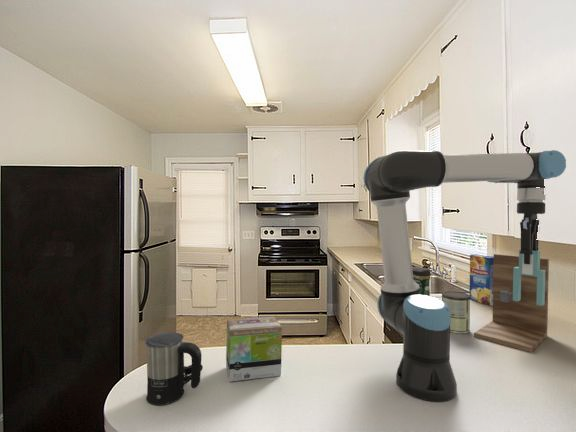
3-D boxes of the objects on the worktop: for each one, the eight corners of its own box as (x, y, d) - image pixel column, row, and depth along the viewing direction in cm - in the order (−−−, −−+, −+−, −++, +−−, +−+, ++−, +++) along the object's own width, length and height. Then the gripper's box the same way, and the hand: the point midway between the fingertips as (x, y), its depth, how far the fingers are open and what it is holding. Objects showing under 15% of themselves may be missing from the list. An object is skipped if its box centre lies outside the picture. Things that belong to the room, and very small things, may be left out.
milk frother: (142, 409, 79) (142, 347, 79) (150, 376, 94) (150, 325, 94) (204, 399, 83) (204, 341, 83) (202, 370, 98) (202, 320, 98)
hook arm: (507, 302, 119) (507, 292, 118) (499, 301, 120) (500, 291, 120) (522, 294, 130) (522, 285, 130) (514, 293, 132) (515, 284, 132)
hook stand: (531, 352, 112) (533, 265, 111) (473, 336, 125) (475, 258, 125) (547, 336, 126) (548, 258, 125) (494, 323, 140) (495, 253, 139)
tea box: (229, 383, 91) (229, 330, 90) (225, 367, 100) (225, 318, 100) (282, 376, 95) (282, 325, 94) (274, 361, 104) (274, 314, 104)
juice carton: (500, 304, 169) (501, 257, 168) (489, 305, 166) (490, 257, 166) (479, 298, 180) (480, 254, 180) (469, 299, 178) (469, 254, 177)
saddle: (542, 306, 105) (543, 252, 104) (512, 300, 111) (513, 249, 110) (544, 304, 107) (546, 251, 106) (515, 299, 113) (516, 249, 112)
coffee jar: (406, 302, 171) (406, 266, 170) (416, 300, 175) (416, 265, 175) (423, 307, 162) (423, 269, 162) (432, 305, 167) (433, 268, 166)
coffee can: (437, 324, 139) (438, 290, 139) (463, 325, 138) (463, 291, 138) (446, 333, 129) (447, 297, 128) (474, 334, 128) (475, 298, 127)
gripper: (538, 200, 100) (536, 278, 100) (551, 202, 110) (549, 272, 111) (509, 201, 106) (507, 274, 106) (524, 202, 116) (522, 269, 117)
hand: (529, 273), depth 108 cm, fingers closed on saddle, 3 cm apart
